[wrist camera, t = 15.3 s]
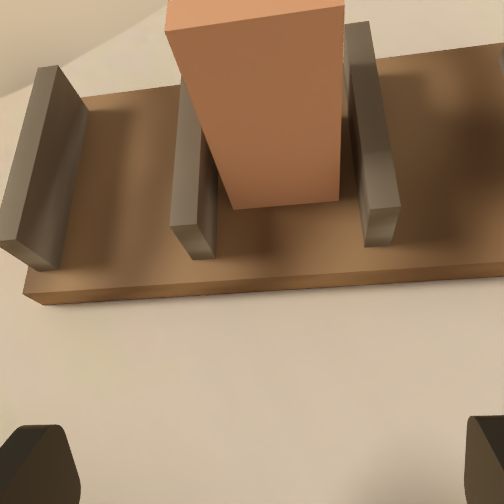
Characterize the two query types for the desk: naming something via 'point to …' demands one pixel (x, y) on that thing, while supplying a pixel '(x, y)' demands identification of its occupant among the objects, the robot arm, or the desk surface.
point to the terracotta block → (265, 93)
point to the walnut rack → (265, 218)
